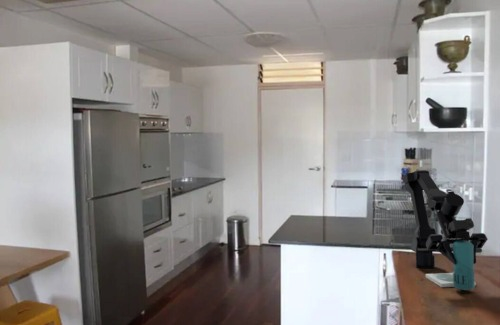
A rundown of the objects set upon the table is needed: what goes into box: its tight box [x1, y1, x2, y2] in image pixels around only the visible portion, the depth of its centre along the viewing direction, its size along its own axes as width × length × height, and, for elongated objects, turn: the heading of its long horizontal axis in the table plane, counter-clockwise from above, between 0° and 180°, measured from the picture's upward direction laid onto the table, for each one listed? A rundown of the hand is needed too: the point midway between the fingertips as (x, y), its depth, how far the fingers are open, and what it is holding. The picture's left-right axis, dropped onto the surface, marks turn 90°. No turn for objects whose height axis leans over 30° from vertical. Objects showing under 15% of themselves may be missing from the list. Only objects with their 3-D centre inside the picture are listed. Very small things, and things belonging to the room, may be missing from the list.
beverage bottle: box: [452, 230, 475, 291], centre depth 140 cm, size 6×7×20 cm
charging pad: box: [425, 272, 477, 288], centre depth 151 cm, size 12×12×1 cm
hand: (465, 263), depth 138 cm, fingers closed on beverage bottle, 6 cm apart
